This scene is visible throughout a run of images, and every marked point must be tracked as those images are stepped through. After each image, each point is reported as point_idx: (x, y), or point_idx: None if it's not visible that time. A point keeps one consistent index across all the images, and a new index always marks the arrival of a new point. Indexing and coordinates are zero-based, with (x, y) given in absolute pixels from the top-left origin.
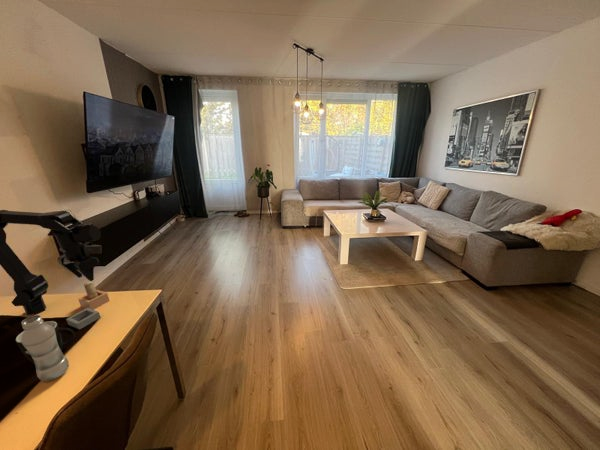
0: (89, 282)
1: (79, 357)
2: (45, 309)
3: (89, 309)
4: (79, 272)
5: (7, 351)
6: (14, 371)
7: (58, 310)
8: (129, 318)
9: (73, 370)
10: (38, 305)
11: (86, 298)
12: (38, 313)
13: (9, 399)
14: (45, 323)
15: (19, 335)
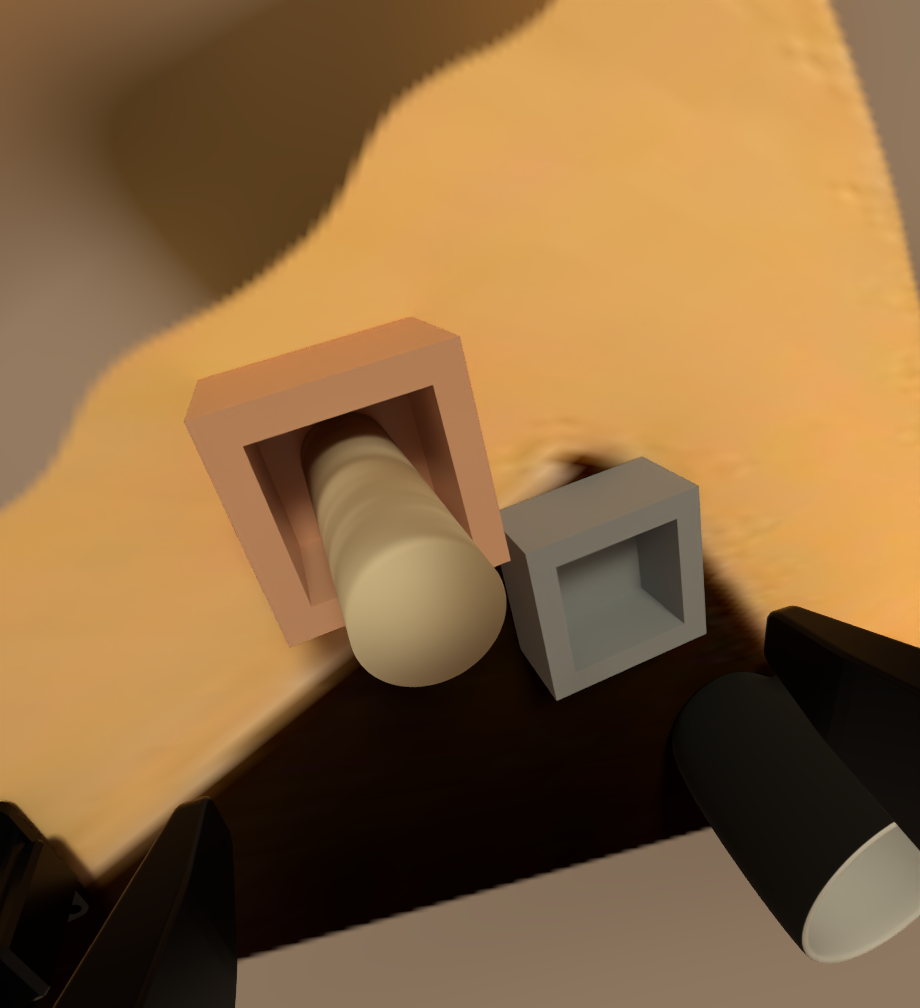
0: (401, 603)
1: (866, 601)
2: (17, 848)
3: (576, 545)
4: (188, 969)
5: (476, 888)
6: (685, 815)
7: (104, 738)
8: (839, 282)
9: (913, 622)
10: (32, 955)
11: (294, 553)
12: (73, 880)
13: None
14: (834, 865)
15: (829, 956)
